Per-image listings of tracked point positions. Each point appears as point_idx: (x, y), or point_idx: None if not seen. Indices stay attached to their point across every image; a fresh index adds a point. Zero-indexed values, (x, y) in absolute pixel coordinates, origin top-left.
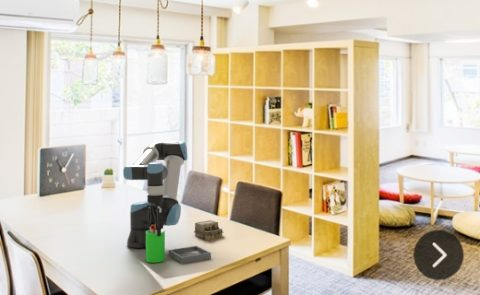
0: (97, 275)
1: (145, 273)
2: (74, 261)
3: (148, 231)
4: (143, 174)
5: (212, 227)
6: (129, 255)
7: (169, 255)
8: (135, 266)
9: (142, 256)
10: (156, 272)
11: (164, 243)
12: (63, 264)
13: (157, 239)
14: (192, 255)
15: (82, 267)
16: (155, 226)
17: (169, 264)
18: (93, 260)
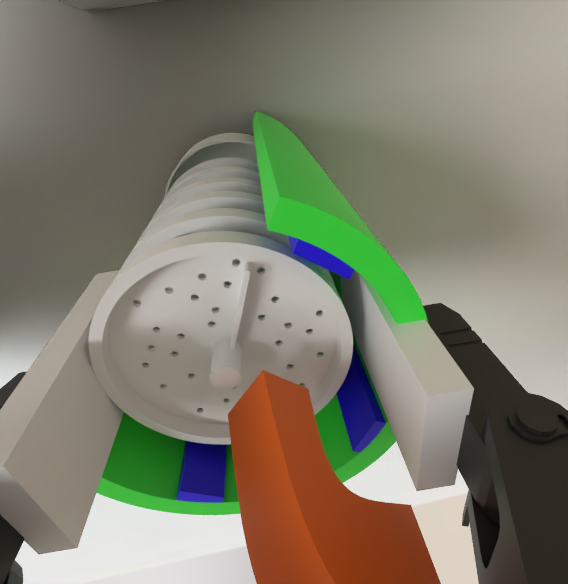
0: (366, 480)
1: (484, 309)
2: (107, 546)
3: (121, 469)
4: None
5: None
6: (19, 350)
7: (115, 6)
8: None
9: (65, 271)
10: (516, 246)
11: (295, 151)
12: (145, 566)
13: None
14: None
15: (218, 522)
16: (355, 547)
17: (400, 99)
18: (107, 498)
